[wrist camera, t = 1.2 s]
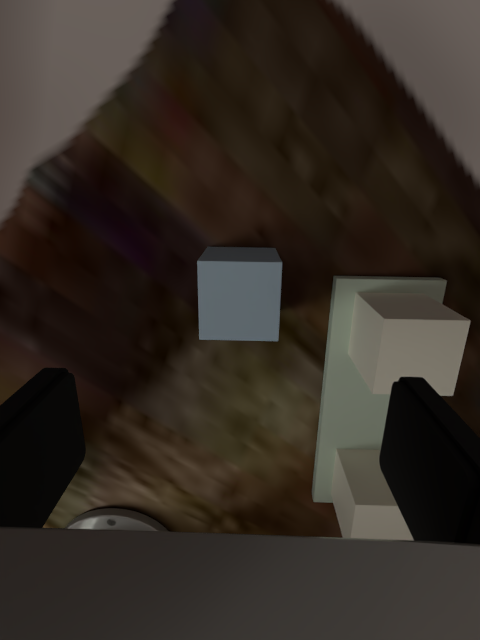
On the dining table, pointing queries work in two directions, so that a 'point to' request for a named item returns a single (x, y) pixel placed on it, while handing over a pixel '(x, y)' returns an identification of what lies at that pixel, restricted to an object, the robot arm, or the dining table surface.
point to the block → (239, 293)
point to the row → (377, 388)
